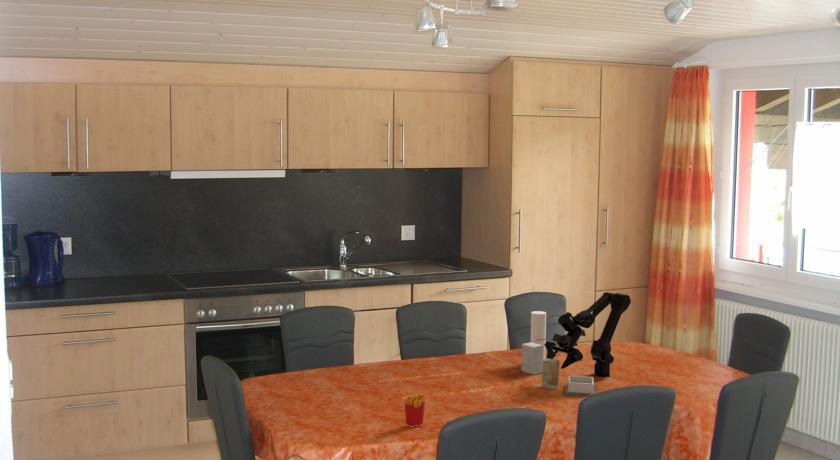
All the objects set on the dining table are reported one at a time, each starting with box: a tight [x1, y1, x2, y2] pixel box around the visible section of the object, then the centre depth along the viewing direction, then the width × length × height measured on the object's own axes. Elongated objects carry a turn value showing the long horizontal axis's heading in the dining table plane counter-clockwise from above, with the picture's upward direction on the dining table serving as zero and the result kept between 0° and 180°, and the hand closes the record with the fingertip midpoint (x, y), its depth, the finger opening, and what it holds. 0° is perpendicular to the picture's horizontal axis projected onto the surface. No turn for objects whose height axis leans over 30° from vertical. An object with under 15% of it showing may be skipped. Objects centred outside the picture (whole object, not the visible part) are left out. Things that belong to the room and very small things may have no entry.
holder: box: [564, 375, 597, 397], centre depth 352 cm, size 13×13×5 cm
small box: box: [520, 341, 543, 375], centre depth 380 cm, size 8×6×13 cm
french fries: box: [404, 392, 426, 426], centre depth 310 cm, size 8×4×12 cm, turn 125°
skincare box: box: [541, 357, 560, 390], centre depth 357 cm, size 6×4×12 cm
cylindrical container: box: [530, 310, 547, 360], centre depth 392 cm, size 7×7×25 cm
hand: (553, 366), depth 357 cm, fingers open, 9 cm apart
